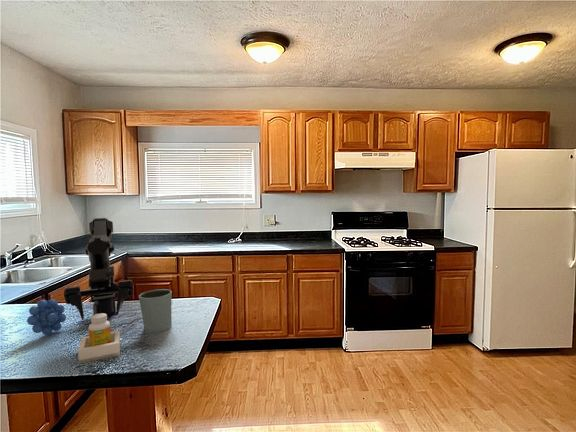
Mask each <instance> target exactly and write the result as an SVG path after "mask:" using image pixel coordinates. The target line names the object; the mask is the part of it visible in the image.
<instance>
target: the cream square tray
mask: <svg viewBox="0 0 576 432" xmlns="http://www.w3.org/2000/svg"><path fill="white" fill-rule="evenodd" d="M120 334H121V333H120V330H115V331H111V343H108V344H102V345H97V346H92V347H90V342H89V335H86V336H82V337H81V340H80V343H79V347H78V349H77V355H78V364H83V363H88V362H93V361H98V360H103V359H108V358H112V357H118V356H121V336H120Z"/></svg>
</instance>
